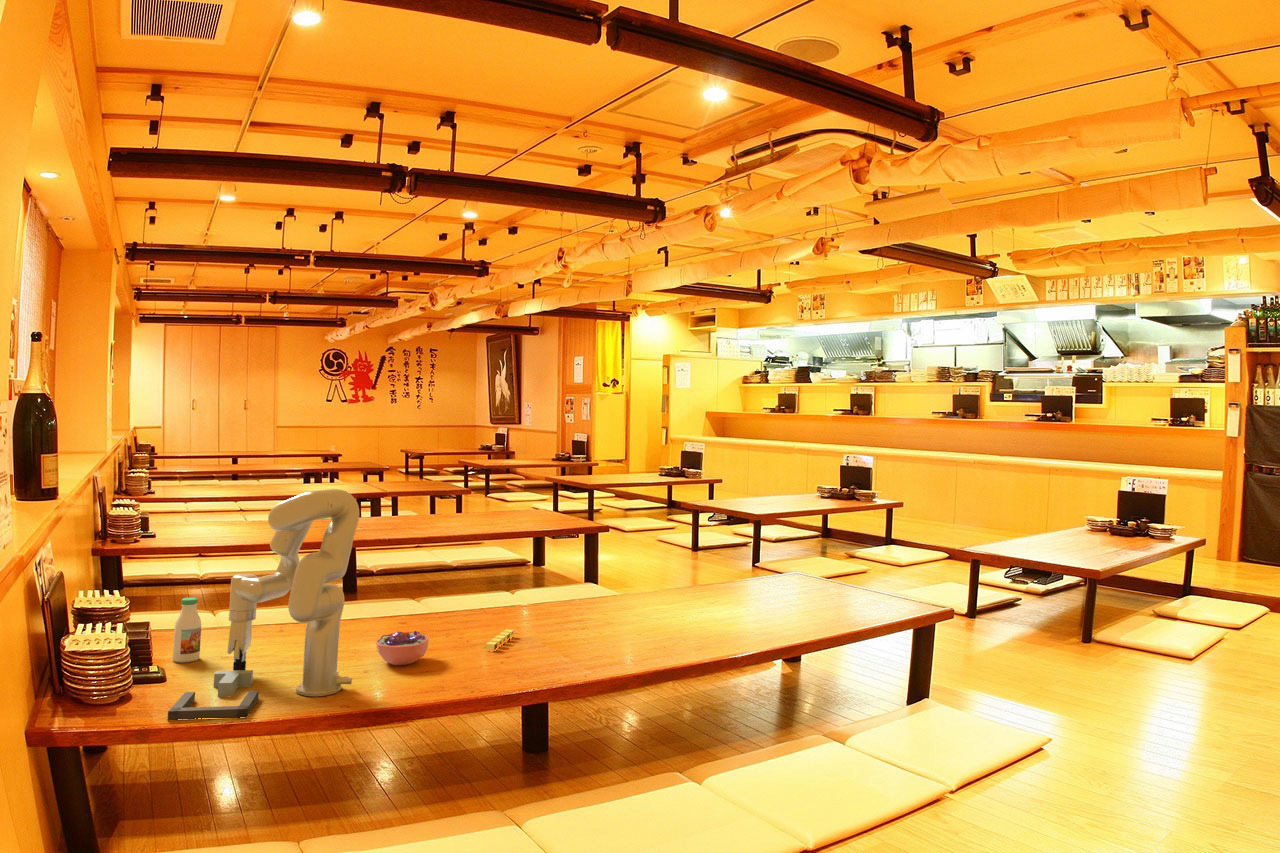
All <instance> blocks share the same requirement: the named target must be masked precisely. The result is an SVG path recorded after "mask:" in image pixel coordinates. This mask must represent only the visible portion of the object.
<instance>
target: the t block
mask: <svg viewBox="0 0 1280 853" xmlns="http://www.w3.org/2000/svg"><path fill="white" fill-rule="evenodd" d="M253 680H254V670H253V669H250V670H249V669H248V670H247V669H246V670H235V671H233V670H216V671H215V672H214V676H213V688H218V690H217V697H218V698H221V697H222V698H223V697H228V696H230V697H233V695H234V693H235V692H236V690H237V689H238V688H239V686H243V687H251V686H252V685H253ZM251 684H252V685H251ZM228 698H229V697H228Z"/></svg>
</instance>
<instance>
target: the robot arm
mask: <svg viewBox="0 0 1280 853" xmlns="http://www.w3.org/2000/svg"><path fill="white" fill-rule="evenodd" d="M359 507H360V506H359V503H358V502H357V500H356V498H355V497H354V496H353V495H352V494H351V493H350V492H348V491H347V490H344V489H336V488H331V489H320V490H311V491H307V492H304V493H301V494H298V495H296V496H294V497H293V496H292V497H291V498H288V499H286V500H282V501H281V502H279V503H276V504H274V505H273V507H272V508H271V509H270V511H269V513H268V517H267V518H268V519H267V522H268V524H269V527H270V528H272V530H273V531H275V532H274V534H273V536H272V538H271V540H270V543H269V547H270V549H271V550H272V551H273V552H274V554H276V555H278V556H280V561H279V563H278V566H277V569H276V570H275V572H274V573H271V574H267V575H263V576H260V577H259V576H257V575H256V574H254V573H238V574H234V575H233V576H232V577H231V579H230V592H229V593H230V594H229V607H228V610H229V611H228V621H229V622H230V626H229V633H228V642H227V643H228V644H227V654H228V655H230V654H232V653H233V663H232V664H233V667H232V671H235V670H247V669H246V668H247V667H246V666H247V651H248V650H249V648H250V647H251V645H252V633H253V621H255V620H256V618H257V604H258V603H263V602H267V601H271V600H275V599H279V598H281V597H285V595H287V594H288V593H290V594H289V598H288V612H289V615H290V617H291V618H292V619H293V620H294V621H295V622H298V623H301V624H302V623H306V628H305V634H304V635H305V636H304V648H303V649H304V650H303V667H302V682H301V683H299V684H298V685H297V686H296V688H295V690H296V691H295V692H296V693H297V694H298V695H301V696H306V697H324V696H330V695H333V694H337V693H338V692H340V691H341V690H342V685H352V684H353V677H349V676H348V675H345V676H341V675H339V674H340V673H339V671H338V661H339V660H338V659H339V658H338V657H339V645H340V644H339V642H340V641H339V640H340V629H341V628H340V627H341V620H342V615H343V611H344V607H345V594H344V591H343V589H342V588H341V587H340V586H339V585H336V584H334V583H333V582H335V581H338V580H341V579H343V577H344V576H345V575H346V573H347V570H348V566H349V561H350V556H351V553H352V549H353V548H352V547H353V542H354V539H355V538H354V537H355V534H356V531H357V528H358V524H359V522H360V521H359V520H360V508H359ZM324 519H325V520H326V519H331V521H330V523H329V524H328V526H327V527H326V529H325V531H324V532H323V538H322V542H321V546H320V549H319V550H318V551H315V552H314V551H313V552H310V553H308V554H306V555H305V556H303V557H302V558H301V559H300V556H299V551H300V549H301V547H302V545H303V543H304V541H305V538H306V536H307V535H308V532H309V530H310V528H311V526H312V524H313V522H314V521H317V520H324Z"/></svg>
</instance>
